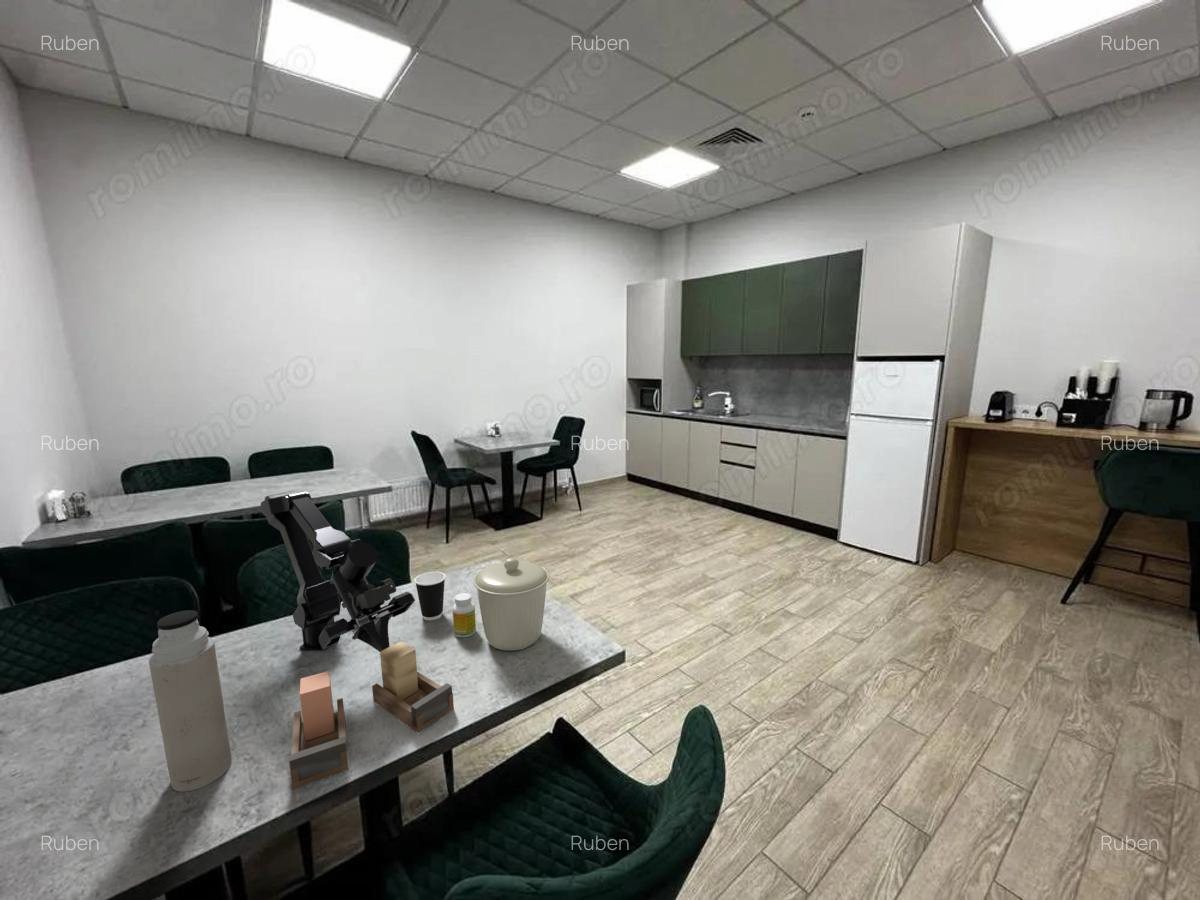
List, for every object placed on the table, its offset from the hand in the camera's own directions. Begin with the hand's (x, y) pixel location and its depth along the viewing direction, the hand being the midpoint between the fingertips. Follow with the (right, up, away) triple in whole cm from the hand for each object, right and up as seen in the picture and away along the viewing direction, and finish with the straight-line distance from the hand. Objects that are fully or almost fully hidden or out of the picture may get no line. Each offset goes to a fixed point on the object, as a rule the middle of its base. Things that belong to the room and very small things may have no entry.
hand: (387, 654), depth 100 cm
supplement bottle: (+9, -4, +23) cm, 26 cm away
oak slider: (+3, -7, -1) cm, 8 cm away
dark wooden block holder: (-6, -11, -14) cm, 19 cm away
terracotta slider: (-8, -9, -11) cm, 16 cm away
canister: (+22, -5, +20) cm, 31 cm away
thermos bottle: (-23, -12, -19) cm, 32 cm away
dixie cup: (-2, -3, +31) cm, 31 cm away
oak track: (+6, -9, -3) cm, 11 cm away
